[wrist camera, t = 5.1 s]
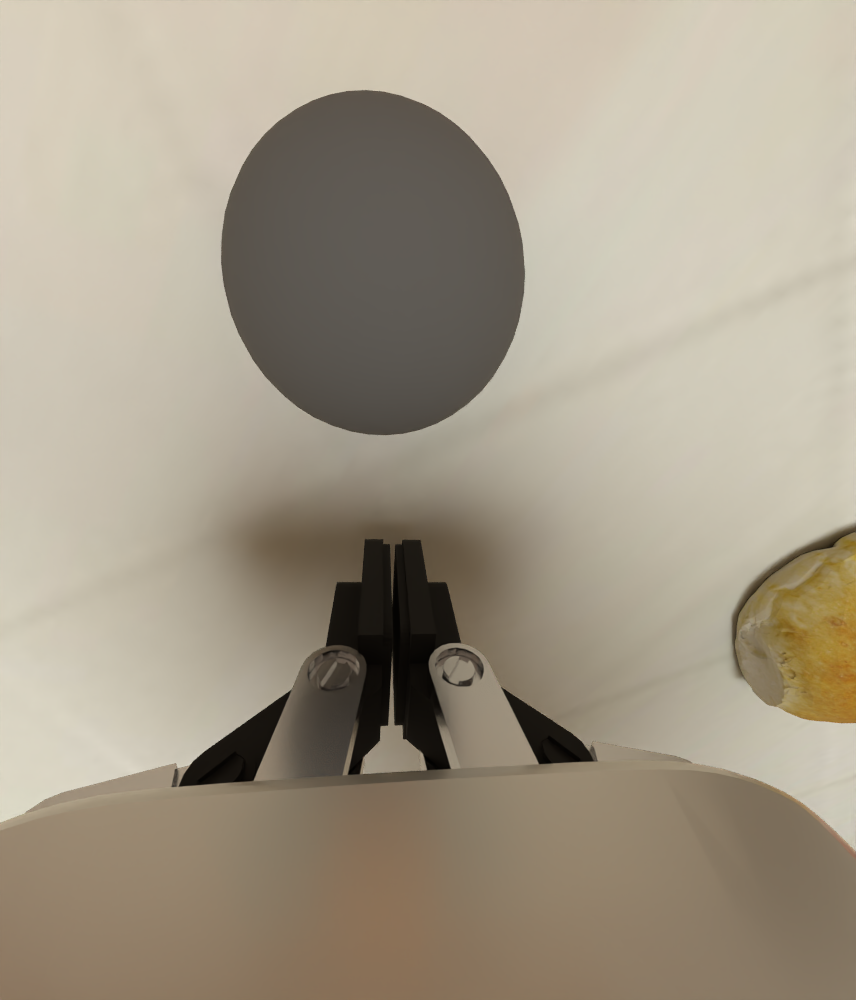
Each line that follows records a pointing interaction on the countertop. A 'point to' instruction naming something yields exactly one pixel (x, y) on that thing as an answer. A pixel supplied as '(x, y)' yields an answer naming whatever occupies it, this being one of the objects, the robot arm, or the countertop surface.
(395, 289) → the dark gray ball
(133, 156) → the countertop surface
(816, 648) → the bread roll
